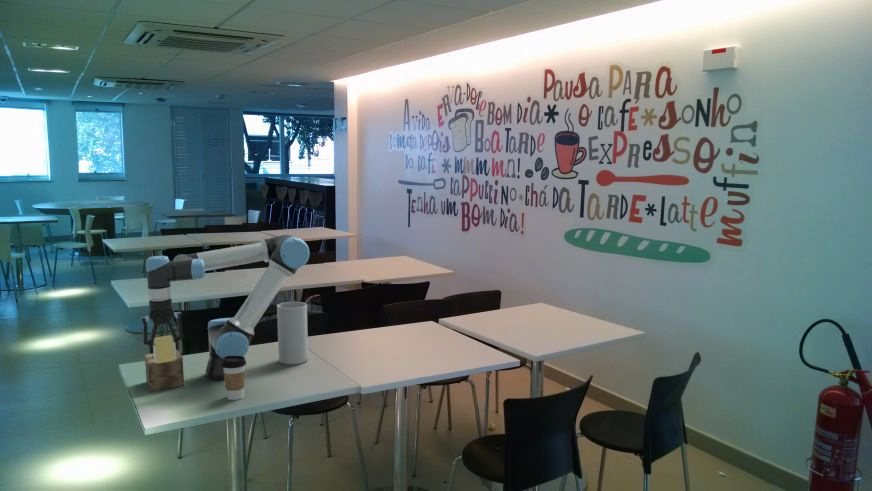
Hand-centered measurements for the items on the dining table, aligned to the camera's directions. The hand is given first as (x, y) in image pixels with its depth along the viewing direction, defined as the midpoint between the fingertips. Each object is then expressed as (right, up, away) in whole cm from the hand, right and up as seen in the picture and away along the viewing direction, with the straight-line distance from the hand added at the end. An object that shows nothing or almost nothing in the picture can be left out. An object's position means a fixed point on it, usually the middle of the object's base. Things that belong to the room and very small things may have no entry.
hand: (165, 360), depth 222 cm
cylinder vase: (+38, -8, +41) cm, 57 cm away
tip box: (-6, -12, +13) cm, 19 cm away
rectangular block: (0, 0, 0) cm, 0 cm away
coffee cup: (+26, -14, -1) cm, 30 cm away
